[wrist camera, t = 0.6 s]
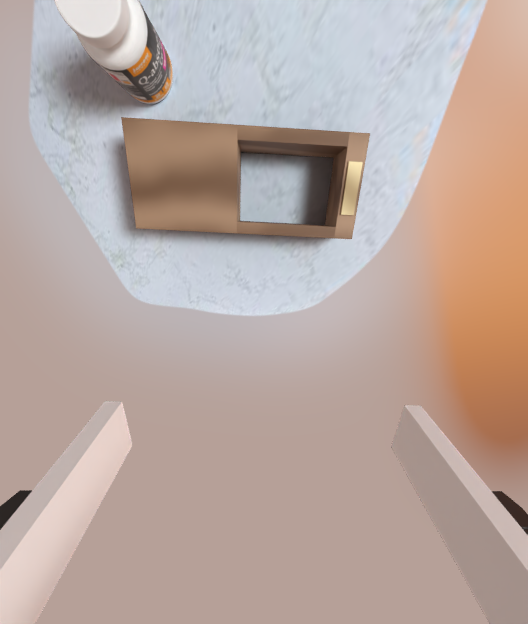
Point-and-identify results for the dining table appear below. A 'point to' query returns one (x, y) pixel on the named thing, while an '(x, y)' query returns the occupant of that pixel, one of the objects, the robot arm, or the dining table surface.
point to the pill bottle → (122, 44)
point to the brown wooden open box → (231, 175)
